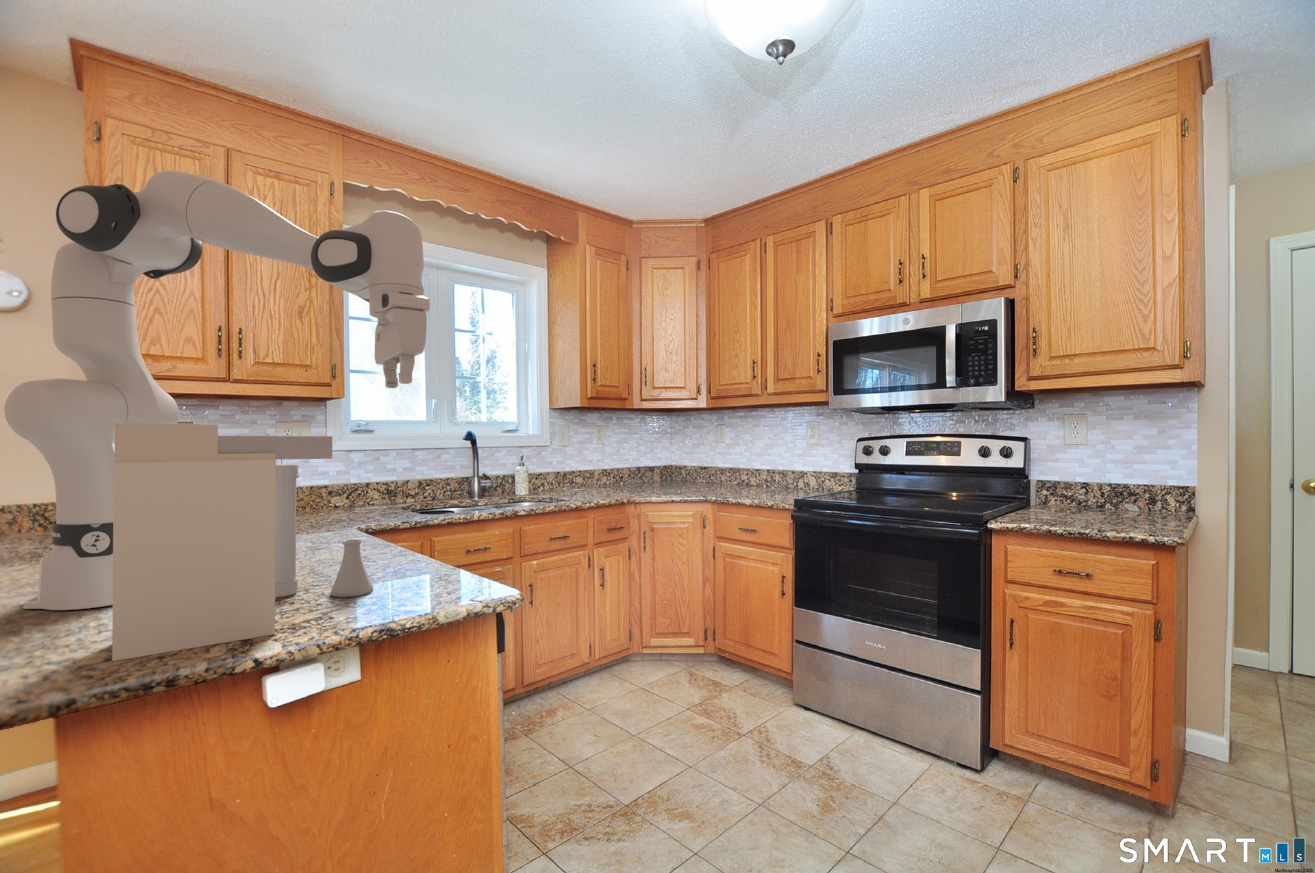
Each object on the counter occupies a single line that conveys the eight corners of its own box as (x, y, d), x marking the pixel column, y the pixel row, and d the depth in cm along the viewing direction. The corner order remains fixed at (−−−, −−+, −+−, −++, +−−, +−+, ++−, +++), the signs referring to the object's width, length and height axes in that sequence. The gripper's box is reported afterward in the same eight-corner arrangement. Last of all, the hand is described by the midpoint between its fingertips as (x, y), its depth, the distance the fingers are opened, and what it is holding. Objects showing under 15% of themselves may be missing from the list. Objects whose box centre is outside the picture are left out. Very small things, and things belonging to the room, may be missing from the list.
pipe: (281, 599, 109) (282, 433, 109) (252, 597, 110) (253, 433, 110) (305, 591, 114) (306, 433, 114) (277, 589, 115) (278, 433, 115)
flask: (361, 598, 109) (361, 544, 109) (321, 598, 109) (322, 543, 110) (380, 588, 117) (380, 537, 117) (343, 588, 117) (343, 537, 117)
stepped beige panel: (119, 640, 86) (121, 424, 86) (268, 617, 97) (269, 426, 97) (112, 661, 78) (114, 423, 78) (274, 634, 89) (276, 425, 89)
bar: (191, 459, 89) (191, 435, 89) (328, 457, 100) (328, 436, 100) (191, 460, 86) (191, 435, 86) (332, 458, 97) (332, 436, 97)
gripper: (365, 315, 111) (366, 389, 111) (392, 292, 95) (393, 379, 95) (401, 318, 115) (402, 390, 115) (433, 297, 99) (434, 381, 99)
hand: (398, 385), depth 105 cm, fingers open, 8 cm apart
